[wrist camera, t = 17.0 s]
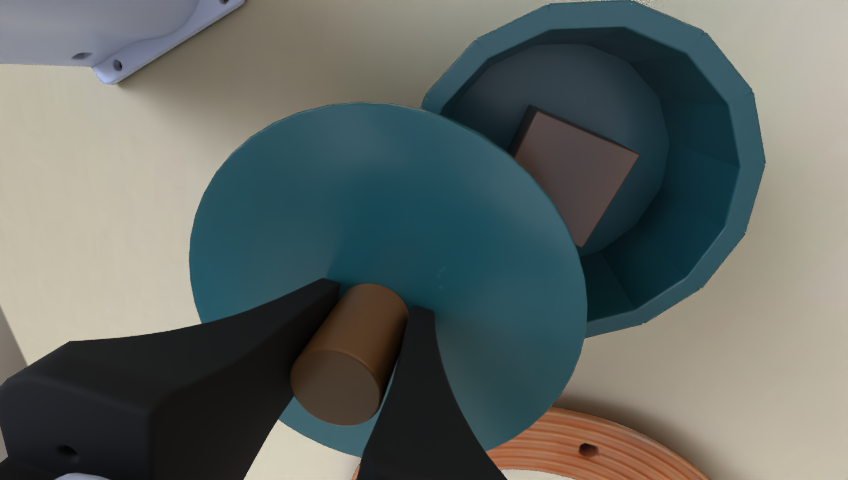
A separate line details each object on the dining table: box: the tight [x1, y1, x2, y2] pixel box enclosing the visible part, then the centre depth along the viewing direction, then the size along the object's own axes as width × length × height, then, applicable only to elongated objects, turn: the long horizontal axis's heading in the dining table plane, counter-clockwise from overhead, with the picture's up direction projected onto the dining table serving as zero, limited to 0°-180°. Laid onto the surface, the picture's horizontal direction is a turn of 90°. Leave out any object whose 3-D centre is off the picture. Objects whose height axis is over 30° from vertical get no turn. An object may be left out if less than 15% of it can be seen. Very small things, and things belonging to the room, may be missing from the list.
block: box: [507, 105, 640, 248], centre depth 17 cm, size 4×4×4 cm
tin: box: [420, 0, 766, 338], centre depth 16 cm, size 11×11×6 cm
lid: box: [189, 102, 588, 458], centre depth 12 cm, size 13×13×4 cm
